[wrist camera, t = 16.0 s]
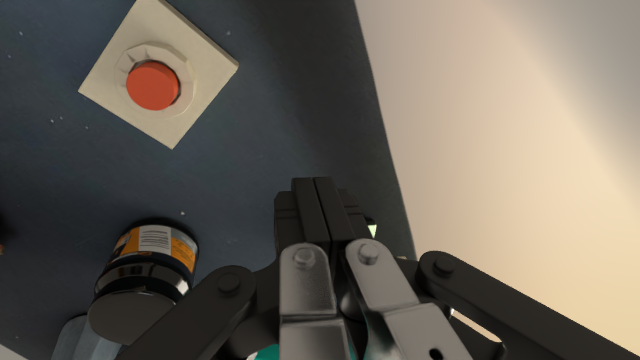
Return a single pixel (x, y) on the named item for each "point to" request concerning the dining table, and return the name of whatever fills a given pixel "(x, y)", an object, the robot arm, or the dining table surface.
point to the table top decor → (268, 353)
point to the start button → (152, 86)
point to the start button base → (169, 50)
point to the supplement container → (143, 279)
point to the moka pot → (83, 343)
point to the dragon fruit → (1, 249)
